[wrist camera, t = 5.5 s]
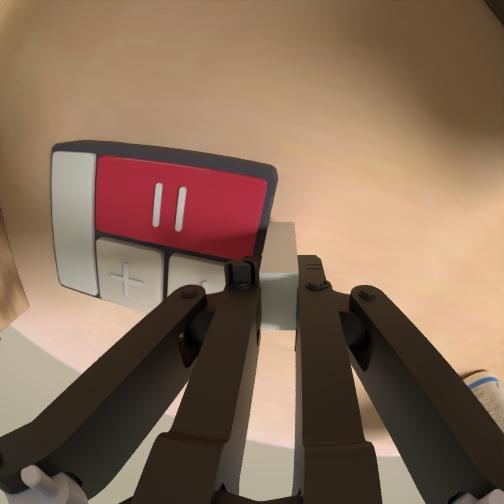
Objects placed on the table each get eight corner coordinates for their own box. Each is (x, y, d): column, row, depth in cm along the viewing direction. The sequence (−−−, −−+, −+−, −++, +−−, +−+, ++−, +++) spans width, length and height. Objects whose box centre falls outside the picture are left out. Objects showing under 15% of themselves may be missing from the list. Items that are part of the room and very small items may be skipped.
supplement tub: (494, 390, 23) (529, 469, 9) (437, 426, 26) (460, 512, 13) (491, 354, 21) (544, 451, 7) (423, 399, 24) (454, 509, 10)
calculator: (241, 343, 18) (53, 290, 18) (246, 306, 22) (80, 266, 22) (280, 173, 14) (43, 145, 13) (278, 164, 18) (80, 139, 17)
